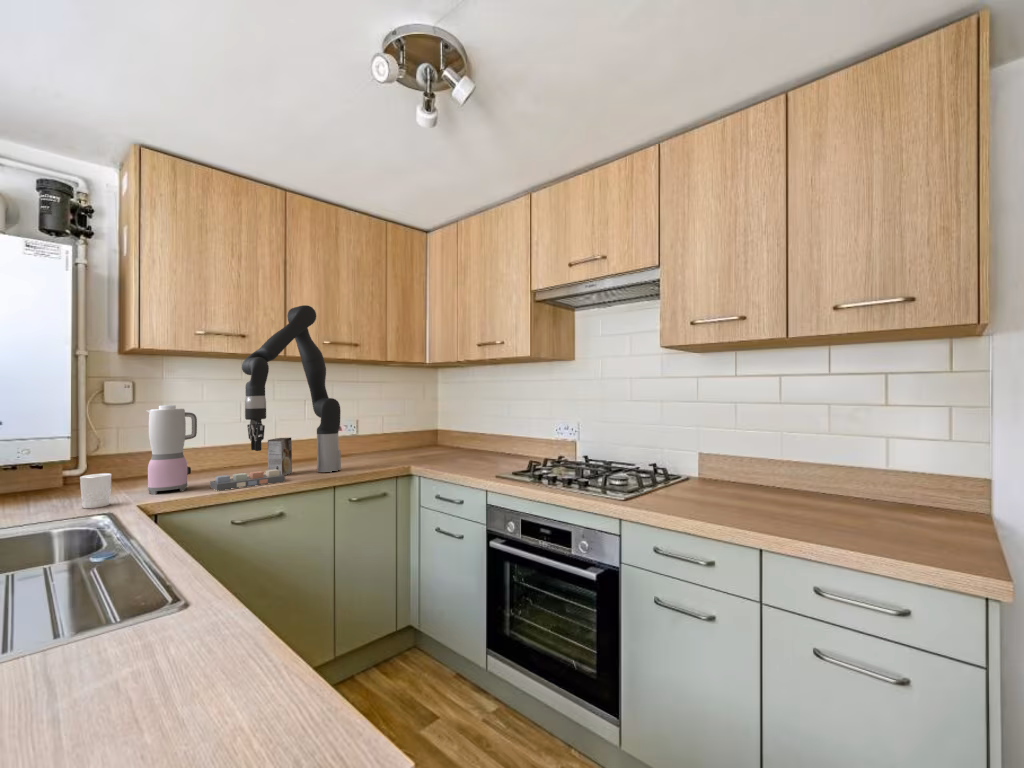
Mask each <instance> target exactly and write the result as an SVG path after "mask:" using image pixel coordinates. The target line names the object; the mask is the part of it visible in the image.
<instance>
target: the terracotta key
mask: <svg viewBox="0 0 1024 768" xmlns="http://www.w3.org/2000/svg"><path fill="white" fill-rule="evenodd" d="M249 476H250V478H251V479H254V478H262V477H264V471H261V470H258V471H250V472H249Z"/></svg>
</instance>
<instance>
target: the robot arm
mask: <svg viewBox="0 0 1024 768" xmlns="http://www.w3.org/2000/svg"><path fill="white" fill-rule="evenodd" d="M286 317H287V322H288V323H287V324H286V325H285V326H284V327H282V328H280V330H278V331H277V332H275V333H274V334H273V335H271V336H270V337H269V338H268V339H267V340H266V341H265V342H264V343H263V344H262V345H261V347H260V348H258V349H256V350H255V351H254V352H252V353H251V354H249V355H248V356H247V357H246V358H245V359H244V360H243V362H242V363H241V370H242V372H243V373H244V374H245V375H248V376H250V379H249V380H248V381H247V382H246V383H245V398H244V399H245V400H244V418H245V420H249V424H247V425H246V426H247V433H248V434H247V435H248V439H249V441H250V450H251V451H255V452H258V451H259V452H261V451H262V442H263V441H264V439H265V425H264V424H263V422H262V420H266V419H267V399H266V383H267V380H268V375H269V371H270V370H269V369H270V368H269V367H270V366H269V362H271V361H274V360H275V359H276V358H277V357H278V356H279V355H280V354H281V353H282V352H283V351H284V349H285V348H286V347H288V345H290V344H291V342H293V340H294V341H295V343H296V346H297V350H298V352H299V356H300V360H301V364H302V368H303V371H304V374H305V377H306V381H307V384H308V387H309V392H310V397H311V404H312V409H313V412H314V414H315V415H316V416H317V417H318V418H320V423H319V425H318V426H317V428H316V458H317V459H316V465H317V466H316V468H317V469H316V470H317V473H318V472H330V473H333V472H332V471H337V472H339V471H338V470H341V471H342V467H341V466H342V462H341V461H342V459H341V457H342V456H341V455H342V454H341V453H342V452H341V449H339V448H340V446H339V444H340V443H339V430H340V428H341V412H342V410H341V405H340V403H339V401H338V400H337V399H336V398H333V397H329V395H328V392H327V391H328V390H327V388H326V387H327V386H326V379H327V378H326V377H327V366H326V363H325V359H324V356H323V355H324V354H323V353H322V351H321V349H320V348H319V347H318V346H317V344H316V343H315V342H314V340H313V339H312V337H311V335H310V334H311V333H310V331H309V327H310V326H312V325H314V323H315V322H316V320H317V312H316V310H315V309H314V308H313V307H312V306H310V305H307V304H306V305H299V306H295V307H291V308H290V309H289V310H288V311H287V316H286Z"/></svg>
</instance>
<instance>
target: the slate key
mask: <svg viewBox="0 0 1024 768" xmlns="http://www.w3.org/2000/svg"><path fill="white" fill-rule="evenodd" d="M214 478H215V480H214V481H215V482H216V483H223V482H230V479H231V476H230V475H227V474H226V475H225V474H224V475H217V476H215V477H214Z"/></svg>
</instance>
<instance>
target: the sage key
mask: <svg viewBox="0 0 1024 768" xmlns="http://www.w3.org/2000/svg"><path fill="white" fill-rule="evenodd" d="M247 477H248V473H245V472H243V473H233V474H232V478H233V480H234V481H238V480H246V479H247Z"/></svg>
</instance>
